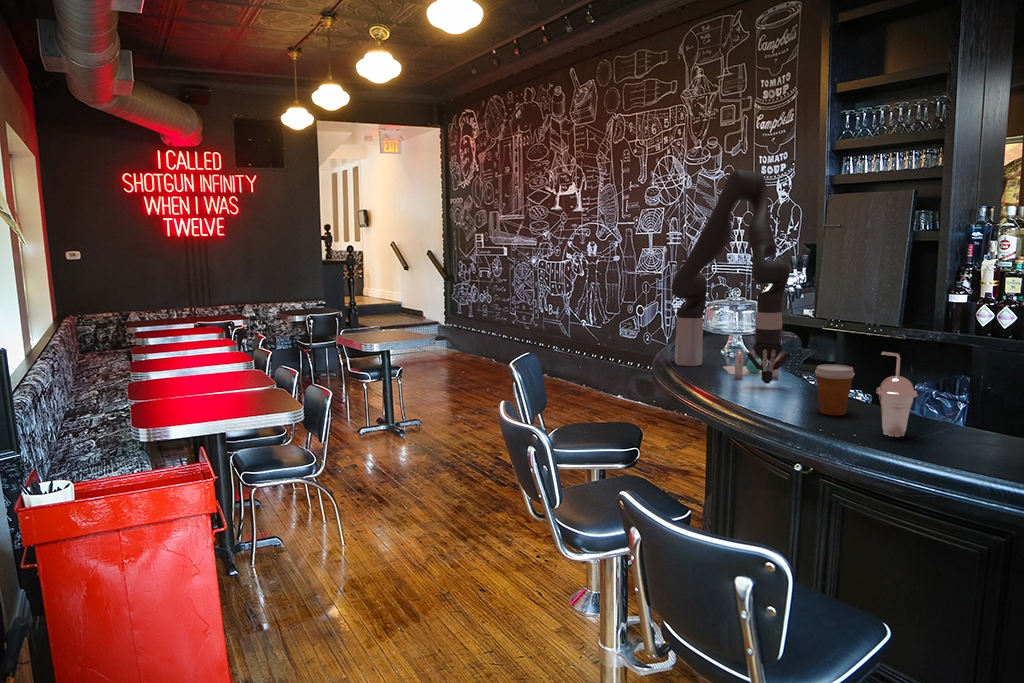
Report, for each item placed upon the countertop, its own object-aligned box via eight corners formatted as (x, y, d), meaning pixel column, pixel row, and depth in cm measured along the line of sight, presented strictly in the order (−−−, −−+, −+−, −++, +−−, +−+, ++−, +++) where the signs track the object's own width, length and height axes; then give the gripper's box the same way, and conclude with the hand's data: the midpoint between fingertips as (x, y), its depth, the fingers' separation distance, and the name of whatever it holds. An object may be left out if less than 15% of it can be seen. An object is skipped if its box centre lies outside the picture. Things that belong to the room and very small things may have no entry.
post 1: (735, 379, 227) (736, 352, 226) (733, 378, 230) (734, 351, 228) (743, 379, 227) (743, 352, 226) (741, 378, 229) (742, 351, 228)
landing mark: (730, 374, 235) (730, 374, 235) (722, 366, 249) (722, 366, 249) (773, 374, 234) (773, 374, 234) (763, 366, 247) (763, 366, 247)
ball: (745, 360, 240) (745, 374, 239) (747, 357, 235) (747, 371, 234) (760, 360, 239) (761, 375, 237) (763, 357, 234) (763, 372, 233)
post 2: (771, 380, 226) (772, 352, 225) (770, 378, 228) (771, 351, 227) (779, 380, 226) (780, 352, 224) (777, 378, 228) (778, 351, 227)
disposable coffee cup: (804, 410, 188) (806, 366, 186) (831, 406, 191) (833, 363, 190) (833, 418, 179) (836, 372, 177) (860, 414, 183) (863, 368, 181)
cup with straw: (920, 440, 160) (926, 353, 157) (877, 438, 161) (883, 352, 158) (906, 429, 168) (912, 347, 165) (866, 428, 170) (870, 346, 167)
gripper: (788, 325, 215) (785, 380, 218) (743, 325, 216) (741, 380, 219) (795, 328, 208) (792, 385, 210) (748, 328, 209) (746, 385, 212)
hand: (766, 382), depth 215 cm, fingers closed
